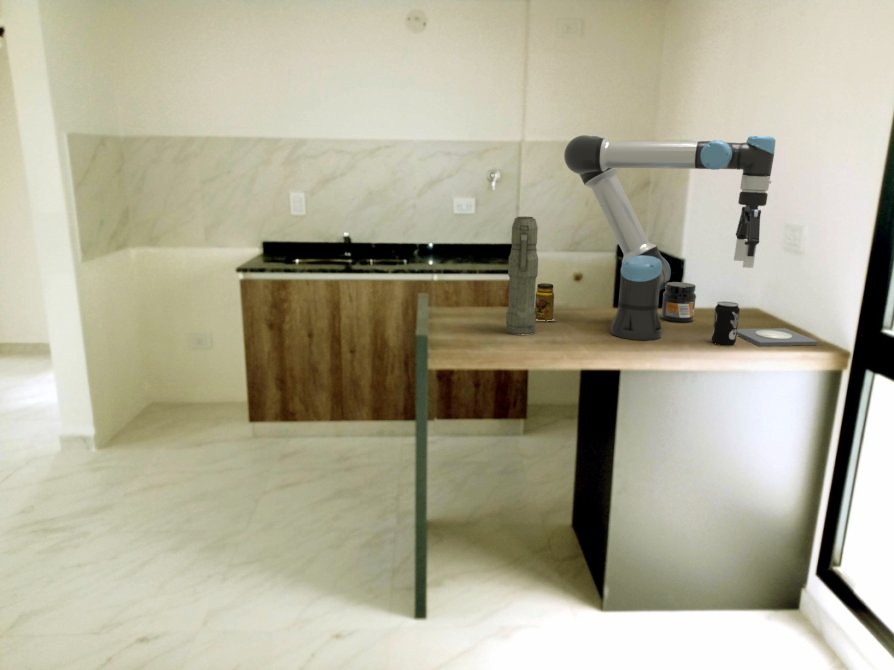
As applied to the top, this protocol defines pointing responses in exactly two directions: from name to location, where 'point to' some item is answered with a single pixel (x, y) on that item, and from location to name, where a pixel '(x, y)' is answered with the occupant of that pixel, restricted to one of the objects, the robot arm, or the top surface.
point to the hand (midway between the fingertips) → (743, 264)
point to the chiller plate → (774, 337)
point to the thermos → (522, 276)
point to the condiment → (544, 302)
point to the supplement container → (678, 302)
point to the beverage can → (725, 323)
